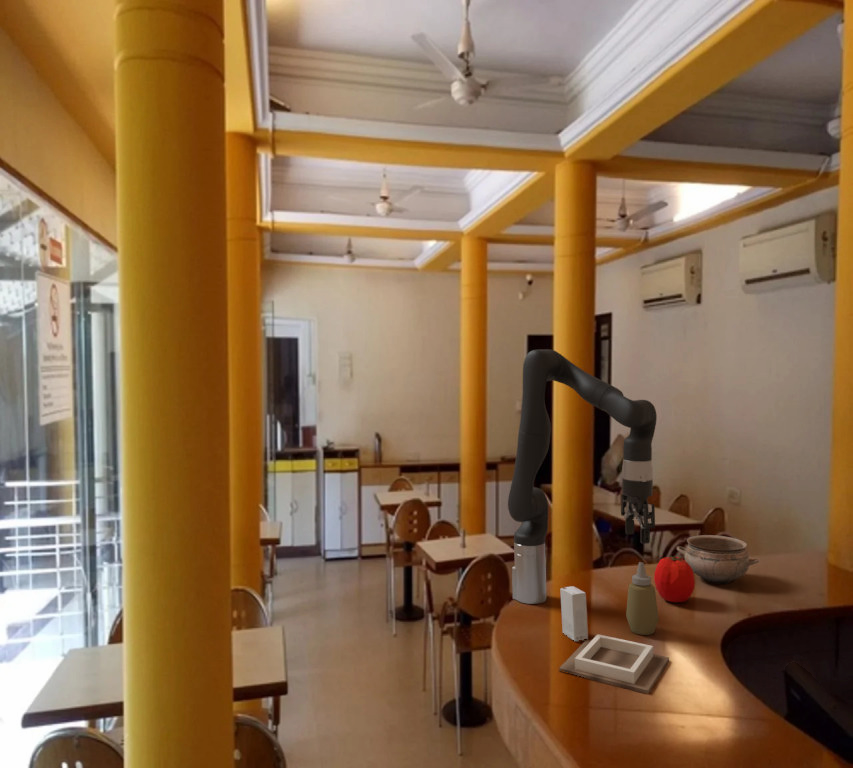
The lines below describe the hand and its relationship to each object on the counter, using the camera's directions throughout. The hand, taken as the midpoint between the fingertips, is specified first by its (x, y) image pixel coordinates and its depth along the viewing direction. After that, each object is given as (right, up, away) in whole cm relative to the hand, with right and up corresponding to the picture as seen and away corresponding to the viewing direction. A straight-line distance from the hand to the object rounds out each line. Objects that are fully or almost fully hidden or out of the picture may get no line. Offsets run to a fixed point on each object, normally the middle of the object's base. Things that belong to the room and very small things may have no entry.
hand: (637, 538), depth 169 cm
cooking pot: (+38, -23, +38) cm, 58 cm away
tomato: (+18, -24, +21) cm, 36 cm away
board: (-11, -25, -18) cm, 33 cm away
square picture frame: (-11, -25, -18) cm, 33 cm away
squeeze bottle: (+2, -25, +1) cm, 25 cm away
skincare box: (-17, -25, -2) cm, 30 cm away
